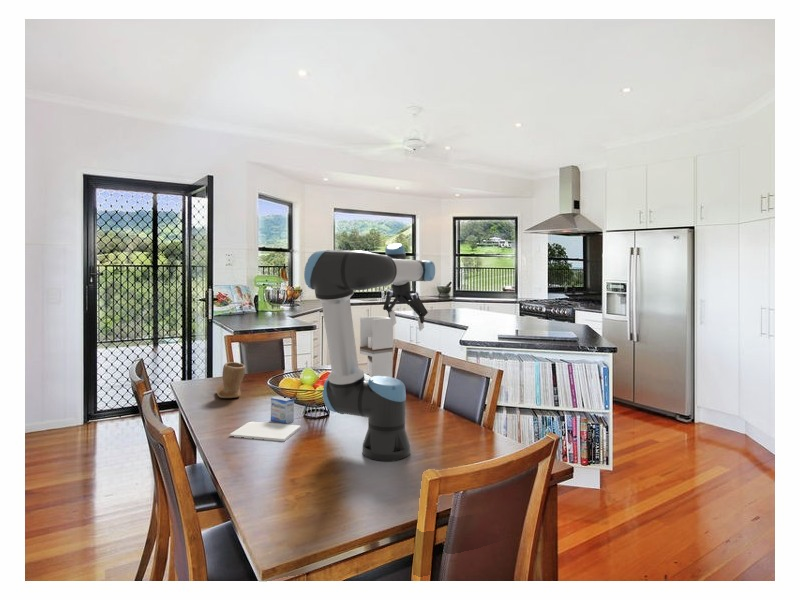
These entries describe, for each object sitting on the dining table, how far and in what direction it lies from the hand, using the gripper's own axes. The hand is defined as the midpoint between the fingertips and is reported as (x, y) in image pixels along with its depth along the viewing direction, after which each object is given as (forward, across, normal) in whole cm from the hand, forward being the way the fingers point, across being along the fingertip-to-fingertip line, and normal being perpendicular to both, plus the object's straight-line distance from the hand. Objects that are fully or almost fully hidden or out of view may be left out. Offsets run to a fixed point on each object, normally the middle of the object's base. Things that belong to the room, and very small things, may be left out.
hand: (407, 326), depth 199 cm
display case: (+38, +22, +4) cm, 44 cm away
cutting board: (+8, +21, +66) cm, 70 cm away
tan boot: (+22, +70, +46) cm, 86 cm away
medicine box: (+14, +26, +55) cm, 62 cm away
